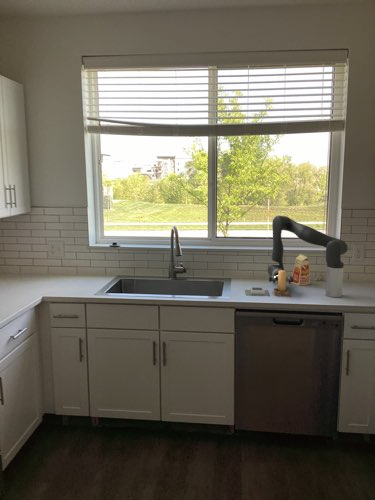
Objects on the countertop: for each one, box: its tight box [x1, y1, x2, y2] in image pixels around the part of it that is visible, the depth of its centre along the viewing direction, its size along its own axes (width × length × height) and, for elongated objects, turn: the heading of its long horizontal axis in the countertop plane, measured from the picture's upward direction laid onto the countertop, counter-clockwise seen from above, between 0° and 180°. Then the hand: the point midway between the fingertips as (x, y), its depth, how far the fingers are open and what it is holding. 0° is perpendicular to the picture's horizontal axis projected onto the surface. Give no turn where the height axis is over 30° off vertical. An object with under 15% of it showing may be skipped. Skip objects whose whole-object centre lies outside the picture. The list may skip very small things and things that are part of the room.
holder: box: [271, 287, 292, 298], centre depth 246 cm, size 10×10×4 cm
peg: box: [277, 269, 287, 292], centre depth 245 cm, size 4×4×14 cm
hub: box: [244, 286, 271, 297], centre depth 249 cm, size 14×14×4 cm
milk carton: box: [290, 253, 311, 286], centre depth 275 cm, size 9×9×20 cm
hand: (282, 281), depth 243 cm, fingers open, 8 cm apart
